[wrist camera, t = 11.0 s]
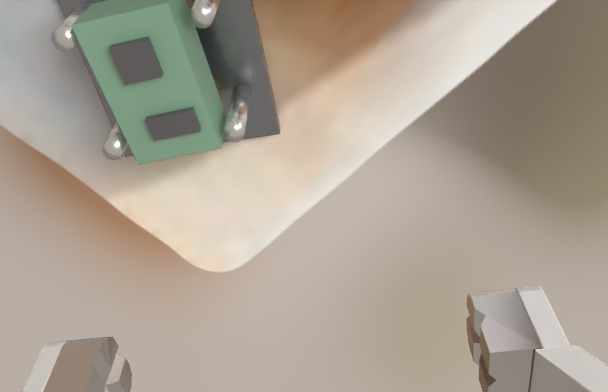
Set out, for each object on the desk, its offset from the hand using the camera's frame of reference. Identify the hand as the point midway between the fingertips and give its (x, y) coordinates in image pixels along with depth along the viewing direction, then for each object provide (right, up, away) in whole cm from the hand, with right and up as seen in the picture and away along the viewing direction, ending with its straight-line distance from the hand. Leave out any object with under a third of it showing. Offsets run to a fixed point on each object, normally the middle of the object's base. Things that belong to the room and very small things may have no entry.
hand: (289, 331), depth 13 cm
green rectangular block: (-9, +12, +25) cm, 30 cm away
